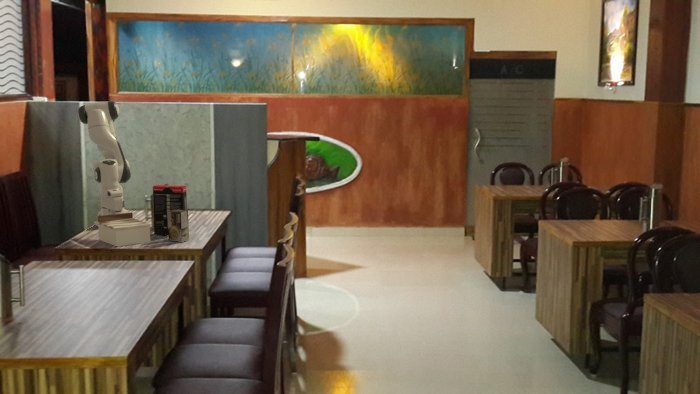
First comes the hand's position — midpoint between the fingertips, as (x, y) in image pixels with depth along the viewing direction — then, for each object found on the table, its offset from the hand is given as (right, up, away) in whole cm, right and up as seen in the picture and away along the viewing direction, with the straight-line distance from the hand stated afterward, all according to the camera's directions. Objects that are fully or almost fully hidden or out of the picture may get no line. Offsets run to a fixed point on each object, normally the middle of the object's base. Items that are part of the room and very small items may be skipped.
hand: (111, 217), depth 391 cm
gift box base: (+9, -13, -9) cm, 18 cm away
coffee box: (+37, -13, -5) cm, 39 cm away
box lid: (+10, -4, -10) cm, 14 cm away
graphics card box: (+29, -10, +10) cm, 32 cm away
